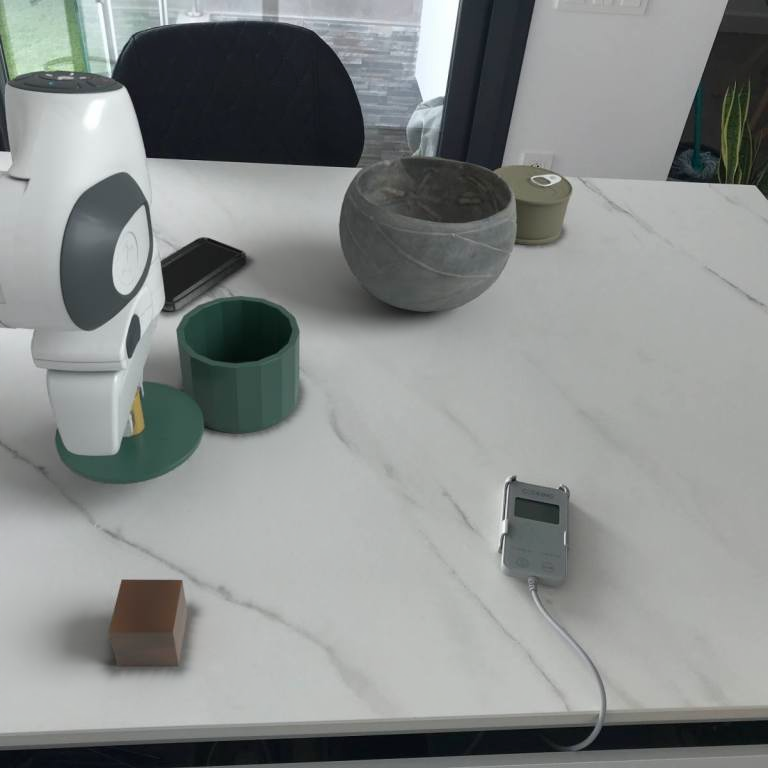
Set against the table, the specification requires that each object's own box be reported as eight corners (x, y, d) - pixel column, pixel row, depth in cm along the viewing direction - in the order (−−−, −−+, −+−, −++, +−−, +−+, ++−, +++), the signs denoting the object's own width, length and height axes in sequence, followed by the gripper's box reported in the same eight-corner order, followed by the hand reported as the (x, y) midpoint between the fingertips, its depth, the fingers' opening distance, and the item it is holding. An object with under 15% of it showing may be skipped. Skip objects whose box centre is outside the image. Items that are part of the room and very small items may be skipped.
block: (117, 666, 58) (108, 632, 55) (129, 613, 61) (121, 579, 58) (178, 665, 58) (172, 632, 55) (187, 613, 61) (182, 579, 59)
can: (465, 216, 117) (472, 173, 112) (525, 200, 122) (534, 159, 118) (517, 253, 109) (527, 208, 105) (578, 234, 115) (590, 192, 111)
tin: (285, 440, 77) (285, 374, 72) (169, 424, 78) (160, 358, 72) (307, 367, 86) (308, 304, 81) (203, 354, 87) (197, 290, 81)
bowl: (528, 289, 102) (552, 183, 93) (446, 365, 88) (465, 250, 79) (396, 236, 111) (406, 134, 101) (303, 298, 97) (304, 187, 87)
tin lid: (179, 498, 65) (173, 455, 62) (31, 478, 66) (17, 434, 62) (221, 400, 75) (217, 357, 72) (92, 383, 76) (82, 340, 72)
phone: (249, 253, 101) (171, 305, 91) (249, 260, 102) (172, 313, 92) (202, 235, 104) (120, 283, 94) (202, 242, 105) (122, 291, 94)
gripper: (94, 218, 68) (117, 344, 76) (21, 365, 52) (61, 502, 61) (168, 221, 68) (182, 346, 77) (117, 368, 53) (143, 503, 61)
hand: (128, 416), depth 69 cm, fingers closed on tin lid, 2 cm apart
